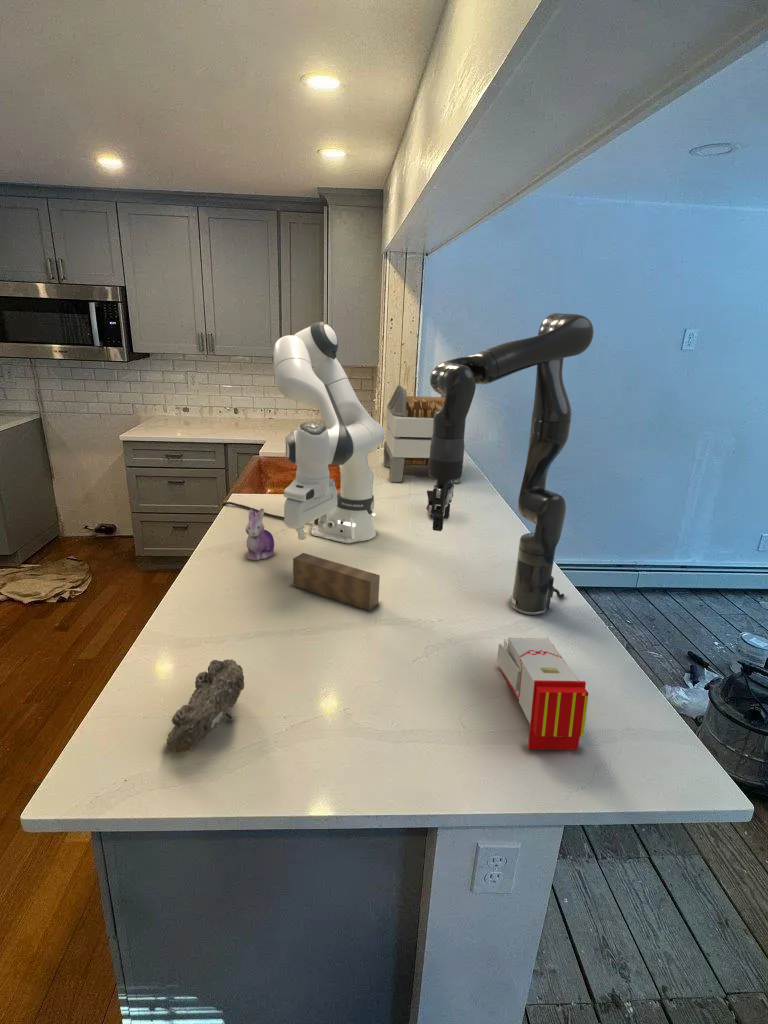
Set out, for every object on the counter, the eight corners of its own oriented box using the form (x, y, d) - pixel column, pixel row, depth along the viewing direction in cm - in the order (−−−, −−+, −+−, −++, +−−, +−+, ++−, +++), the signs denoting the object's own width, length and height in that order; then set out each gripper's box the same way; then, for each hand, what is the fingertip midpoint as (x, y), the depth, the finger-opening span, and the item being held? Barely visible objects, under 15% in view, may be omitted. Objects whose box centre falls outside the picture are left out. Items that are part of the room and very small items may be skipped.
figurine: (249, 563, 172) (248, 517, 167) (241, 550, 180) (239, 506, 175) (280, 558, 176) (279, 513, 171) (270, 546, 184) (269, 502, 179)
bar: (293, 585, 160) (292, 558, 157) (303, 579, 164) (303, 552, 161) (369, 610, 148) (370, 581, 146) (378, 603, 152) (379, 575, 149)
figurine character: (444, 523, 215) (440, 506, 228) (446, 505, 211) (442, 489, 225) (427, 523, 215) (424, 505, 228) (428, 505, 211) (425, 488, 225)
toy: (545, 621, 128) (598, 688, 99) (540, 675, 131) (589, 757, 102) (492, 620, 128) (529, 687, 98) (488, 674, 131) (522, 756, 101)
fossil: (192, 660, 117) (244, 628, 112) (224, 691, 120) (276, 661, 115) (142, 746, 98) (202, 712, 93) (182, 779, 101) (242, 748, 96)
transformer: (382, 463, 289) (386, 382, 275) (445, 464, 293) (451, 384, 279) (390, 482, 257) (394, 392, 243) (460, 483, 261) (468, 394, 247)
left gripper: (324, 473, 160) (323, 519, 164) (279, 492, 143) (280, 543, 147) (343, 477, 157) (342, 524, 162) (300, 497, 140) (300, 548, 145)
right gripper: (458, 465, 118) (451, 537, 124) (467, 450, 131) (461, 516, 137) (423, 461, 120) (418, 532, 126) (436, 447, 133) (431, 512, 139)
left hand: (312, 533), depth 154 cm, fingers open, 8 cm apart
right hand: (440, 524), depth 131 cm, fingers open, 8 cm apart
